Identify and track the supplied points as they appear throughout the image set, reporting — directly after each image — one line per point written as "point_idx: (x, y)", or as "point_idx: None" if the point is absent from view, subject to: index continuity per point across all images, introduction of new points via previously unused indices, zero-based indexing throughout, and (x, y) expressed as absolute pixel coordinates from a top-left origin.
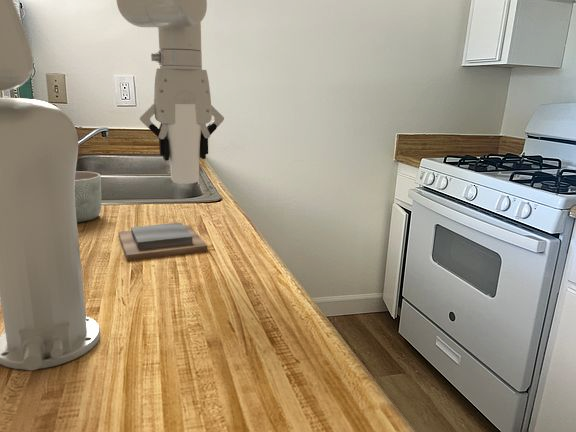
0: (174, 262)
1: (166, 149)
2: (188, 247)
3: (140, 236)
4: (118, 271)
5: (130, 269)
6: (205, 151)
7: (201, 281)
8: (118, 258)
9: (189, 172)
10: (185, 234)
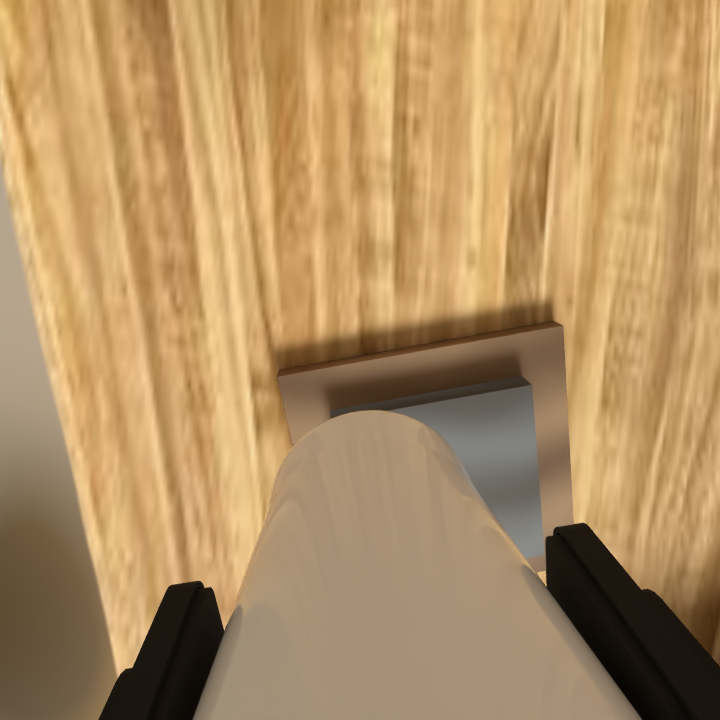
0: (400, 277)
1: (630, 601)
2: (347, 367)
3: (518, 449)
4: (585, 227)
5: (547, 238)
6: (144, 643)
7: (316, 65)
8: (579, 350)
9: (345, 444)
10: None
